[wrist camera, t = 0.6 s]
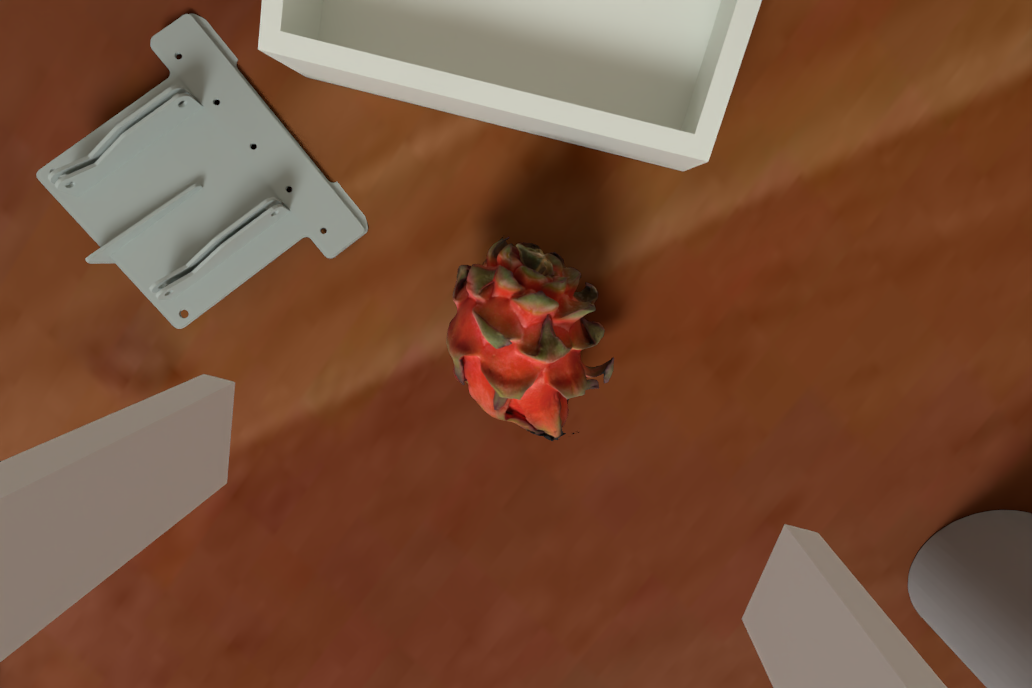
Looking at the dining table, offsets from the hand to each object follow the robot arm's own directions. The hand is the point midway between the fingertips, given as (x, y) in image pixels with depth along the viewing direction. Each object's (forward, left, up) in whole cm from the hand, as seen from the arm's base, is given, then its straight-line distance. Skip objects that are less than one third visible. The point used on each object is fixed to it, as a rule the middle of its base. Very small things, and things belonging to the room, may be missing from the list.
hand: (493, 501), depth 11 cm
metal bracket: (-21, +3, -20) cm, 29 cm away
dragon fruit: (0, 0, -19) cm, 19 cm away
